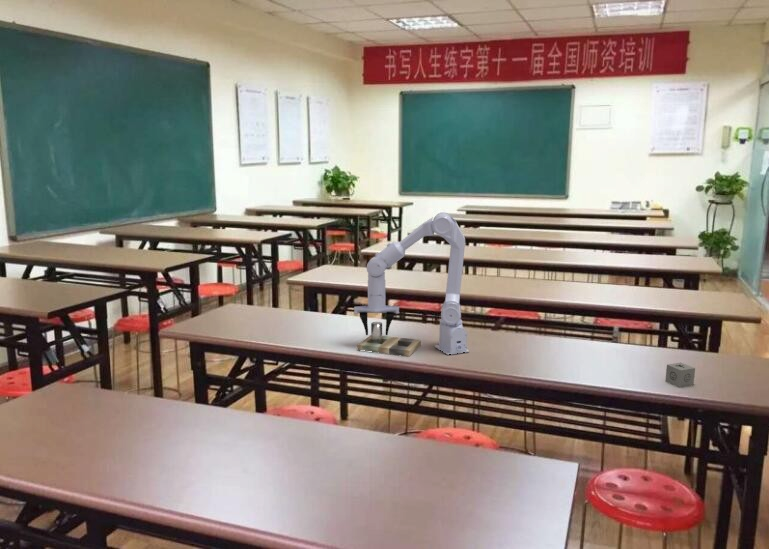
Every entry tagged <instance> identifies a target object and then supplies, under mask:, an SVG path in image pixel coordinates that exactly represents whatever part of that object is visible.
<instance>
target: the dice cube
mask: <svg viewBox="0 0 769 549" xmlns="http://www.w3.org/2000/svg"><path fill="white" fill-rule="evenodd" d="M695 373H696V367H693V366H691V365H688V364H685V363H683V362H680V361H679V362H676V363H675V362H674V363H668V364H666V371H665V383H668V384H670V385H673V386H675V387H676V388H684V387H685V386H686V387H690V386H691V385H692V386H694V385H695V384H694V383H695ZM692 386H691V387H692ZM686 387H685V388H686Z"/></svg>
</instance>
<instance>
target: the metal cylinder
mask: <svg viewBox="0 0 769 549" xmlns="http://www.w3.org/2000/svg"><path fill="white" fill-rule="evenodd" d="M370 329H371V330H370V332H371V333H370V335H371V343H376V344H382V336H383V322H381V321H373V322H371V323H370Z"/></svg>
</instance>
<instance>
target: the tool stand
mask: <svg viewBox="0 0 769 549" xmlns="http://www.w3.org/2000/svg"><path fill="white" fill-rule="evenodd" d="M421 346H422V339H416V338H406V337H399V336H398V337H397V336H389V335H382V344H376V343H371V334H370V335H368V337H366V338H365V339H363V340H362V341H360V342H359V343H358V344H357V351H358V350H365V351H372V352H371V353H374V352H379V353H378V354H382V353H385V354H384V355H391V354H394V355H393V356H399V355H401V357H407V356H409V358H410V357H411V356H412V355H414V353H415V352H416V351H418V349H419V348H421ZM365 351H364V352H365Z"/></svg>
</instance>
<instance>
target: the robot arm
mask: <svg viewBox="0 0 769 549" xmlns="http://www.w3.org/2000/svg"><path fill="white" fill-rule="evenodd" d="M435 234H436V235H438V236H439V237H441V238H443V239H444V240H445V241H446V242H447V243H448V244H449V245H450V248H449V261H448V268H447V279H446V280H447V281H446V291H445V299H444V302H442V304H441V311H440V312H441V313H440V320H439V338H438V339H439V344H435V345H434V348H436V349H438V350H439V351H440V350H441V352H442V351H443V352H442V353H444V354H445V353H446V354H445V355H447V356H450V355H449V354H451V355H457V353H458V354H464V353H463V352H465V353H469V352H470V350H469V349H468V346H467V345H468V333H467V330H466V329H465V328H464V327H463V326H464V325H463V320H462V319H461V318H462V313H461V312H462V311H461V310H462V307H461V304H460V299H461V298H460V296H461V288H462V287H461V286H462V278H463V277H462V276H463V268H464V267H463V266H464V259H465V258H464V257H465V248H466V238H465V236H464V233H463V231H462V230H461V228H460V226H459V225H458V223H457V220H456V219H455V218H454V217H453V216H452V215H450V214H449V213H447V212H439V213H436V215H435V216H434V217H431V218H429V219H427V220H425V221H424V222H423V223H421V224H420V225H418V226H417V227H416V228H415V229H413V231H412V232H410V233H409V234H407V236H405V237H404V238H403V239H402V240H401V241H400V242H399V241H393V242H388V243H387V244H386V247H385V248H384V249H383V250H381V251H380V252H376V253H375V254H374V255H375V256H373V257H372V258H370V260H369V261H368V262H367V265H366V271H367V305H360V306H354V307H353V308H354V312H353V313H354V314H357V315H358V314H359V319H360V320H361V322H362V324H363V327H364V331H365V336H369V326H368V325H369V324H368V314H385V319H386V320H385V336H389V330H390V326H391V323H392V321H393V319H394V317H395V314H400V306H399V305H398V306H397V305H386V276H385V274H386V272H385V271H386V269H388V268H389V269H390V268H391V267H392V266H394V265H395V264H396V263H397V262H398V261H400V260H401V259H402V258H404V257H405V256H406V250H407V249H410V248H411V247H412V246H413V245H415V244H416V243H417V242H419V241H420V240H422V239H423V238H424V237H427V236H429V237H430V236H434V235H435Z"/></svg>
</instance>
